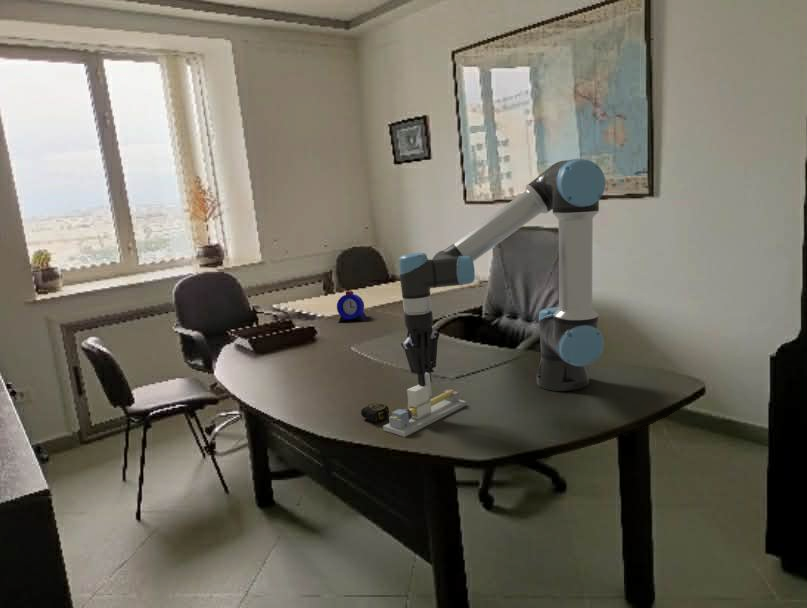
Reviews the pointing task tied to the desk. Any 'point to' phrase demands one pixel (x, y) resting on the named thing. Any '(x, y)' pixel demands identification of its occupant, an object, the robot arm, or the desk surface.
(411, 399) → the white rectangular block
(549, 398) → the desk surface
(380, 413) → the tape measure
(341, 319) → the alarm clock
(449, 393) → the threaded rod slide
